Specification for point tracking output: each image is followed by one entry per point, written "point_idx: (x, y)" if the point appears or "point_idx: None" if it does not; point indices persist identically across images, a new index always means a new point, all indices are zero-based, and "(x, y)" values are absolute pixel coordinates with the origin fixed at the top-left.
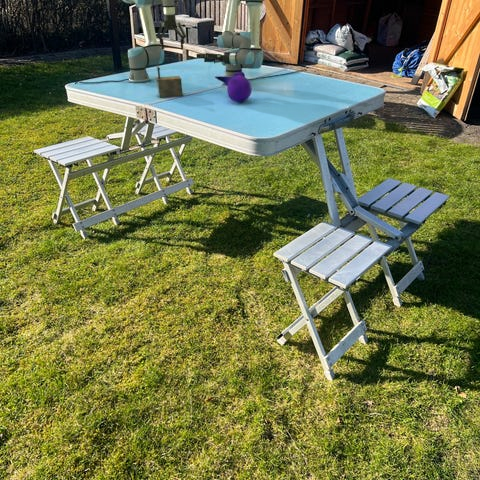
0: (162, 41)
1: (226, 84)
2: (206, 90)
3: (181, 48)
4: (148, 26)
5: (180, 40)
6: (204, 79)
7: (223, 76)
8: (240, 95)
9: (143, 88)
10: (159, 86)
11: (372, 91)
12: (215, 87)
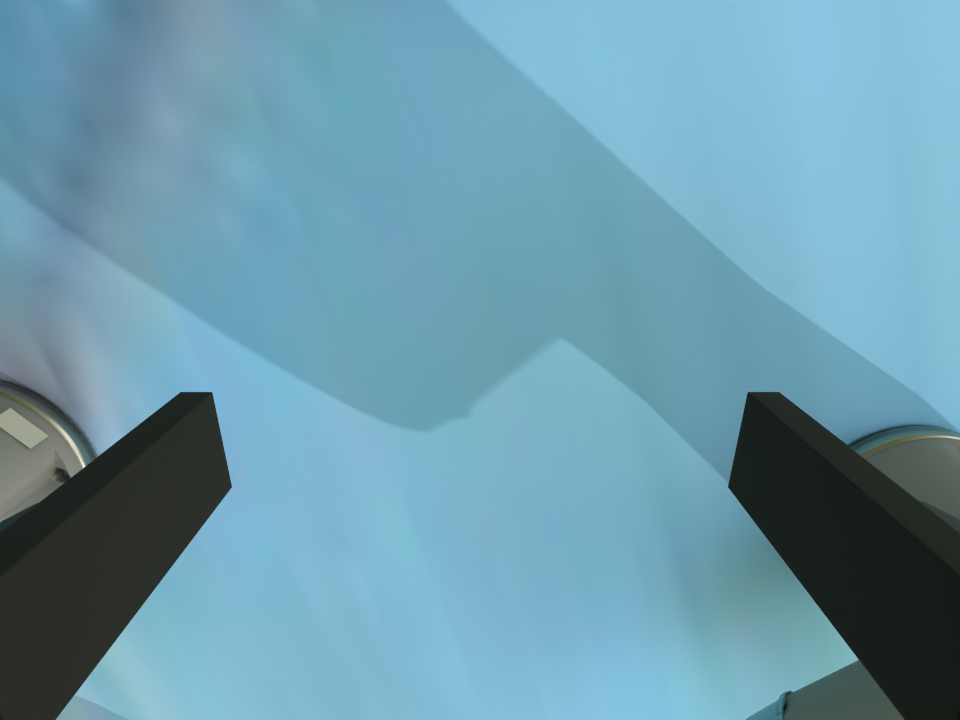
0: (894, 575)
1: (34, 396)
2: (116, 141)
3: (186, 403)
4: None
5: (14, 565)
6: (329, 587)
7: None
8: None
9: (815, 192)
10: None
11: None
12: (92, 290)
